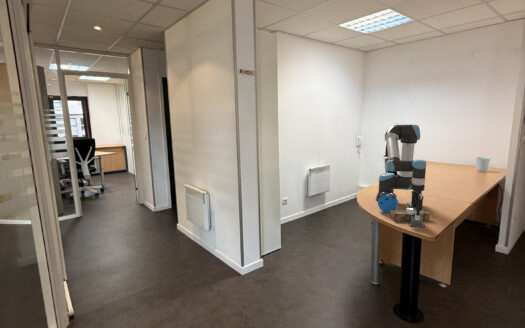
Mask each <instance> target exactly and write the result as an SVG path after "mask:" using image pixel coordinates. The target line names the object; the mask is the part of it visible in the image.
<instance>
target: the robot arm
mask: <svg viewBox="0 0 525 328" xmlns="http://www.w3.org/2000/svg"><path fill="white" fill-rule="evenodd" d="M420 139H421V129H420V126H419V125H418V124H412V123H411V124H394V125H393V126H391V127H389V128H388V129H387V130H386V131H385V133H384V141H385V142H386V147H387V157H388V158H387V159H388V160H386V161H385V170H386V171H387V172H384V173H381V174H380V175H379V176H378V192H377V194H376V197H375V201H377V202H378V200H379V198H380V197H382V196H380V194H381V193H382V192H386V193H387V194H388V193H389V194H391V193H394V192H395V191H394V190H403V191H405V190H406V191H407V190H408V191H410V190H412V191H411V201H410V202H411V205H412V207H413V208H416V210H415V220H420V211H422V209H423V203H424V196H423V194H422V192H424V191H425V187H426V185H425V184H426V174H427V173H426V171H427V161H426V160H423V159H414V155H415V154H414V153H415V145H416V144H417V143H418V141H420ZM398 141H400V143H401V155H400V149H399V142H398ZM393 172H395V173H396V172H397V174H396V175H395V173H393ZM394 194H395V193H394Z"/></svg>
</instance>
